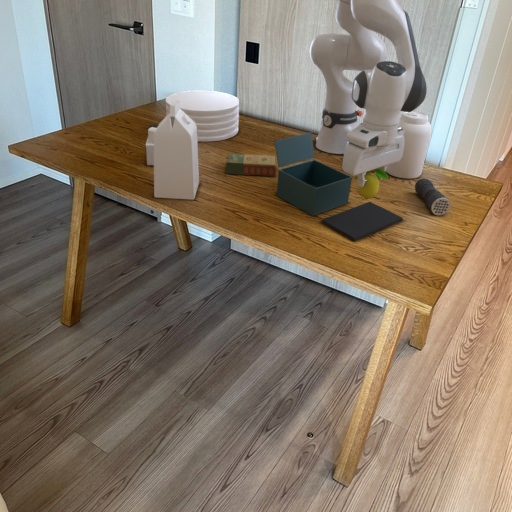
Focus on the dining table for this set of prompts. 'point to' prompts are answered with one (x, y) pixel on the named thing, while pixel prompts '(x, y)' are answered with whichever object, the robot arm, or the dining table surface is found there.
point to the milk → (176, 156)
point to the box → (313, 186)
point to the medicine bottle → (150, 144)
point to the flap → (294, 149)
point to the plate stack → (209, 112)
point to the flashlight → (432, 197)
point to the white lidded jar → (412, 145)
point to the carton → (251, 164)
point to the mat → (361, 221)
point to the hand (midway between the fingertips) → (369, 183)
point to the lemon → (371, 183)
